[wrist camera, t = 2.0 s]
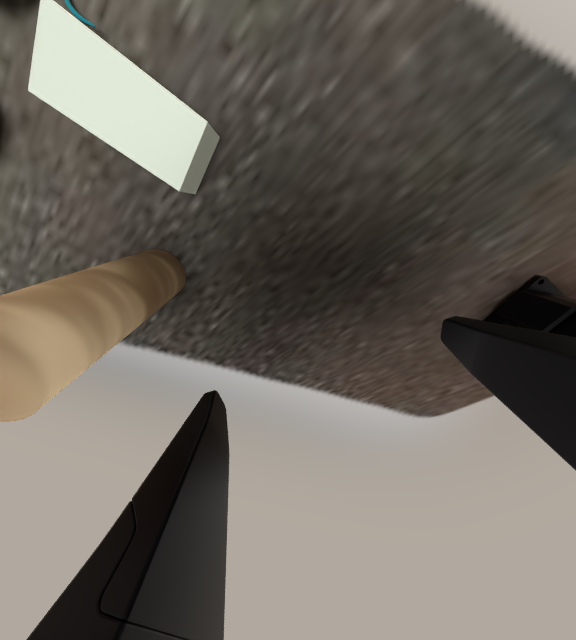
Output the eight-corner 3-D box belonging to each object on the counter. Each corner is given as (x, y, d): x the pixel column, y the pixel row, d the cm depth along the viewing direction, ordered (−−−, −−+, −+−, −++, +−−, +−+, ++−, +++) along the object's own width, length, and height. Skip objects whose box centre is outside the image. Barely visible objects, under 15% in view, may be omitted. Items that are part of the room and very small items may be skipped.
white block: (220, 137, 15) (207, 121, 12) (195, 194, 16) (179, 191, 14) (91, 37, 13) (41, -9, 10) (75, 113, 14) (28, 90, 11)
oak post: (193, 266, 19) (52, 361, 7) (175, 304, 20) (32, 435, 8) (145, 238, 17) (-119, 295, 6) (129, 280, 19) (-110, 393, 7)
